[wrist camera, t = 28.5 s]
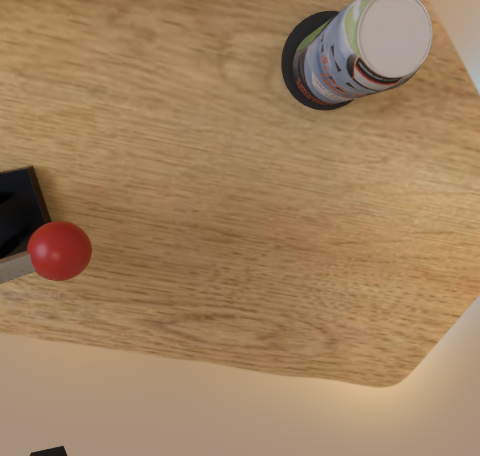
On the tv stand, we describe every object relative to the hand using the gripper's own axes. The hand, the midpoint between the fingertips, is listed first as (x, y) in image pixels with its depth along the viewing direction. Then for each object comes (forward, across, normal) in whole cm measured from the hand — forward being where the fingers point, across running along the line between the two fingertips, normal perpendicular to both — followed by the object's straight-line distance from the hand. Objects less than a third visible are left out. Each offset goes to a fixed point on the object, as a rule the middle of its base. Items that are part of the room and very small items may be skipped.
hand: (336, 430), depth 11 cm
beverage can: (+30, +10, +9) cm, 33 cm away
